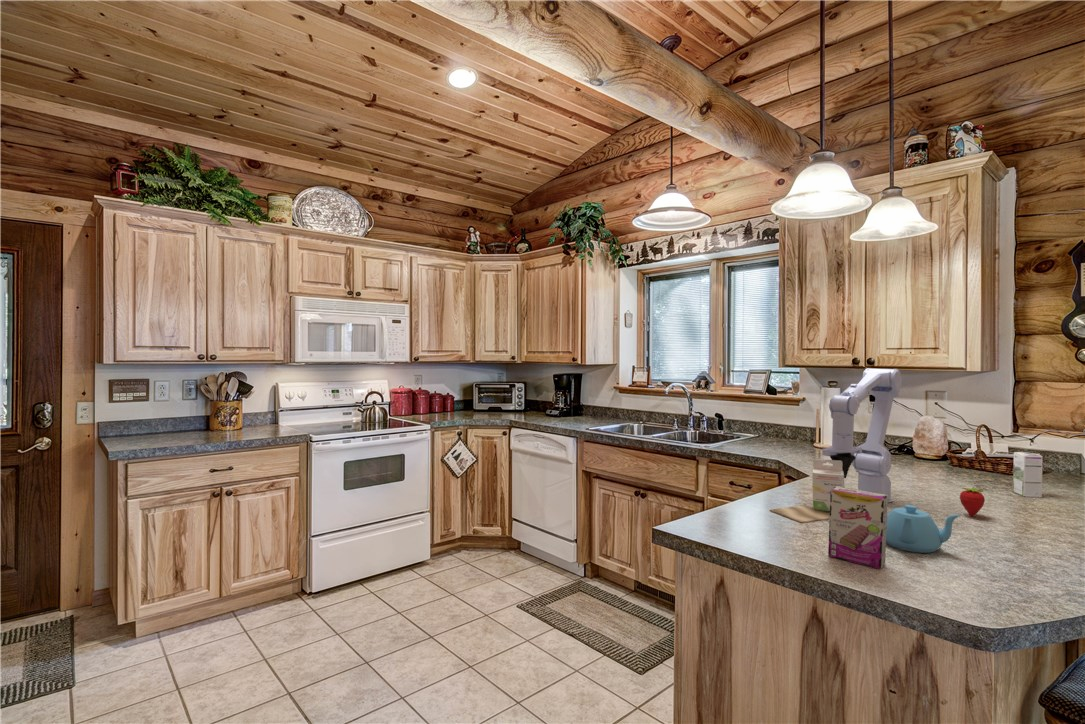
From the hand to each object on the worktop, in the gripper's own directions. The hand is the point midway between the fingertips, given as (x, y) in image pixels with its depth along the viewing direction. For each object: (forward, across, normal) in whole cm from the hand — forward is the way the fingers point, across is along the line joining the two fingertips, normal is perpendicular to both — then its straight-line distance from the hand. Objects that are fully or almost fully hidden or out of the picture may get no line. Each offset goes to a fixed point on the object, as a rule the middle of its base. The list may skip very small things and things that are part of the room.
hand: (841, 477), depth 166 cm
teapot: (+10, +11, +29) cm, 33 cm away
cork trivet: (+10, +15, 0) cm, 18 cm away
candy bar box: (+10, +32, +31) cm, 46 cm away
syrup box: (+10, -77, +9) cm, 78 cm away
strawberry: (+10, -32, +18) cm, 38 cm away
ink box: (+9, +5, 0) cm, 11 cm away
